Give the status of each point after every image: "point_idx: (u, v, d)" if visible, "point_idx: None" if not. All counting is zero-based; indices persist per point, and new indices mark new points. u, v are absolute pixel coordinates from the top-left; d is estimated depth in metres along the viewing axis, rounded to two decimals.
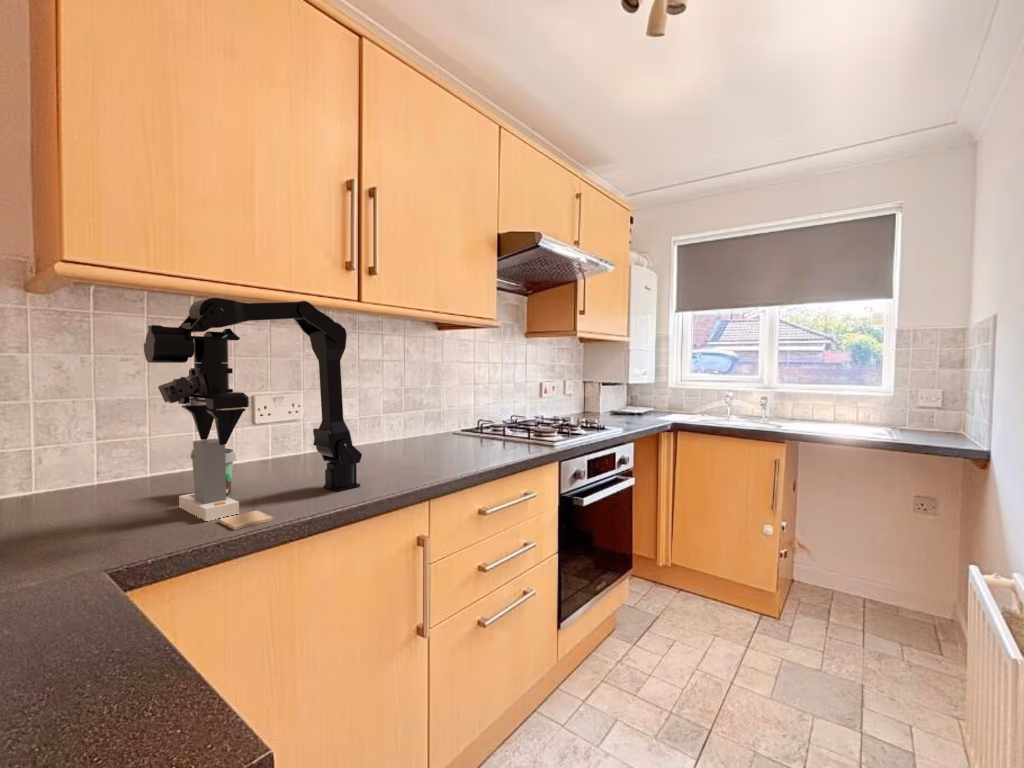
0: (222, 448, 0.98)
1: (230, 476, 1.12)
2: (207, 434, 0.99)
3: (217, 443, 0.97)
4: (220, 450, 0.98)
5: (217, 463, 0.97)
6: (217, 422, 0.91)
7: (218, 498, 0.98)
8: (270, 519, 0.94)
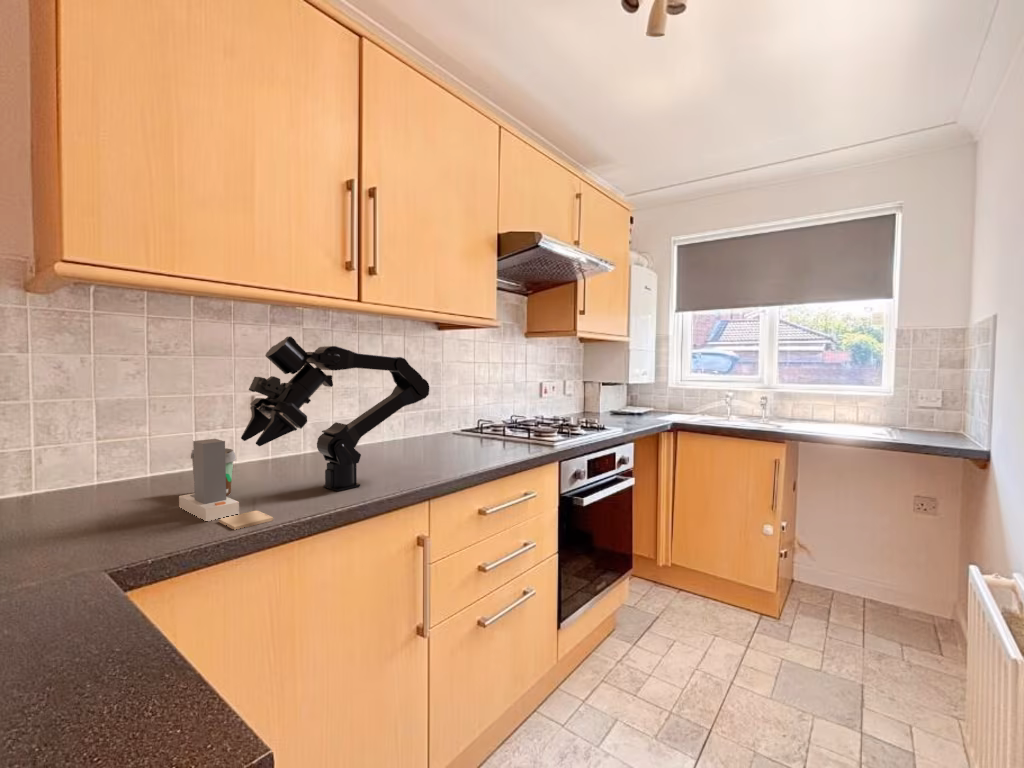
0: (222, 448, 0.98)
1: (230, 476, 1.12)
2: (248, 437, 1.08)
3: (217, 443, 0.97)
4: (220, 450, 0.98)
5: (217, 463, 0.97)
6: (270, 424, 1.01)
7: (218, 498, 0.98)
8: (270, 519, 0.94)
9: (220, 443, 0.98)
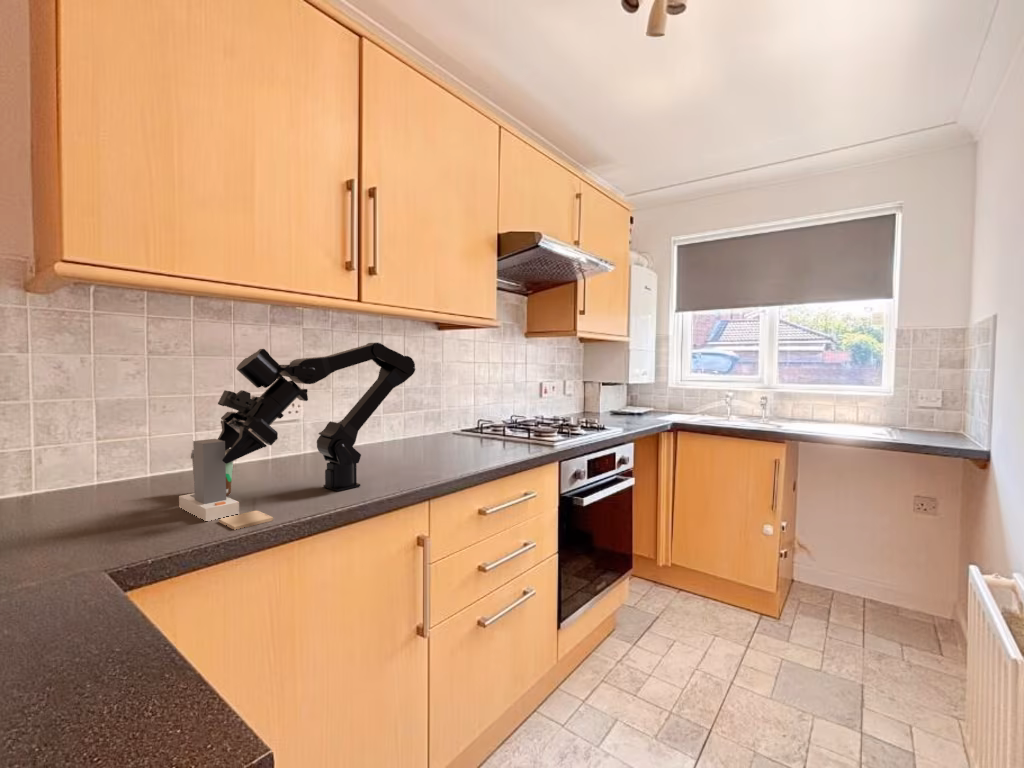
0: (222, 448, 0.98)
1: (230, 476, 1.12)
2: None
3: (217, 443, 0.97)
4: (220, 450, 0.98)
5: (217, 463, 0.97)
6: (238, 441, 0.97)
7: (218, 498, 0.98)
8: (270, 519, 0.94)
9: (220, 443, 0.98)
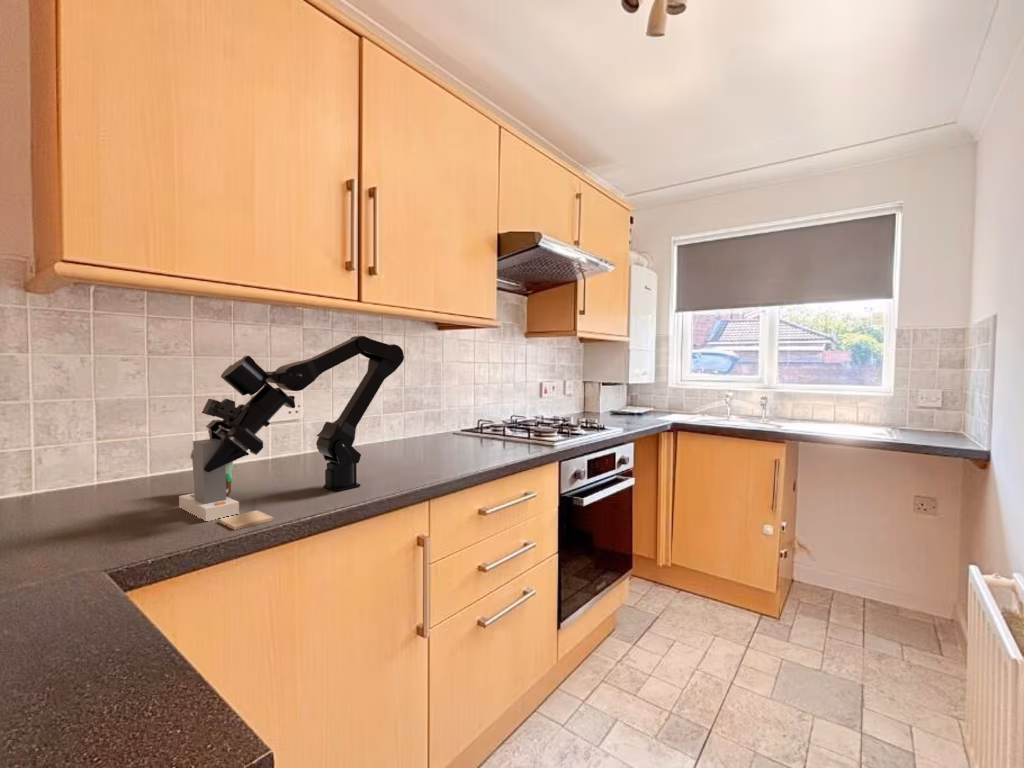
0: None
1: (230, 476, 1.12)
2: None
3: (217, 443, 0.97)
4: None
5: None
6: (219, 449, 0.96)
7: (218, 498, 0.98)
8: (270, 519, 0.94)
9: (220, 443, 0.98)
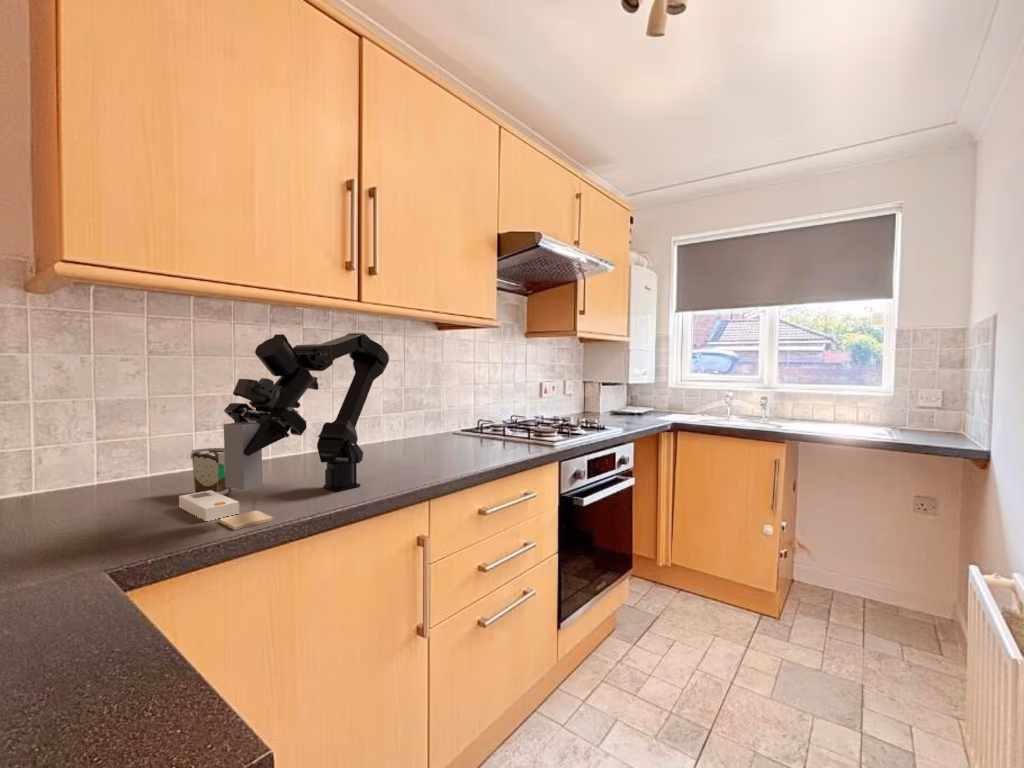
0: None
1: None
2: None
3: (254, 425, 0.92)
4: None
5: None
6: (260, 431, 0.92)
7: (256, 483, 0.93)
8: (270, 519, 0.94)
9: (257, 425, 0.93)
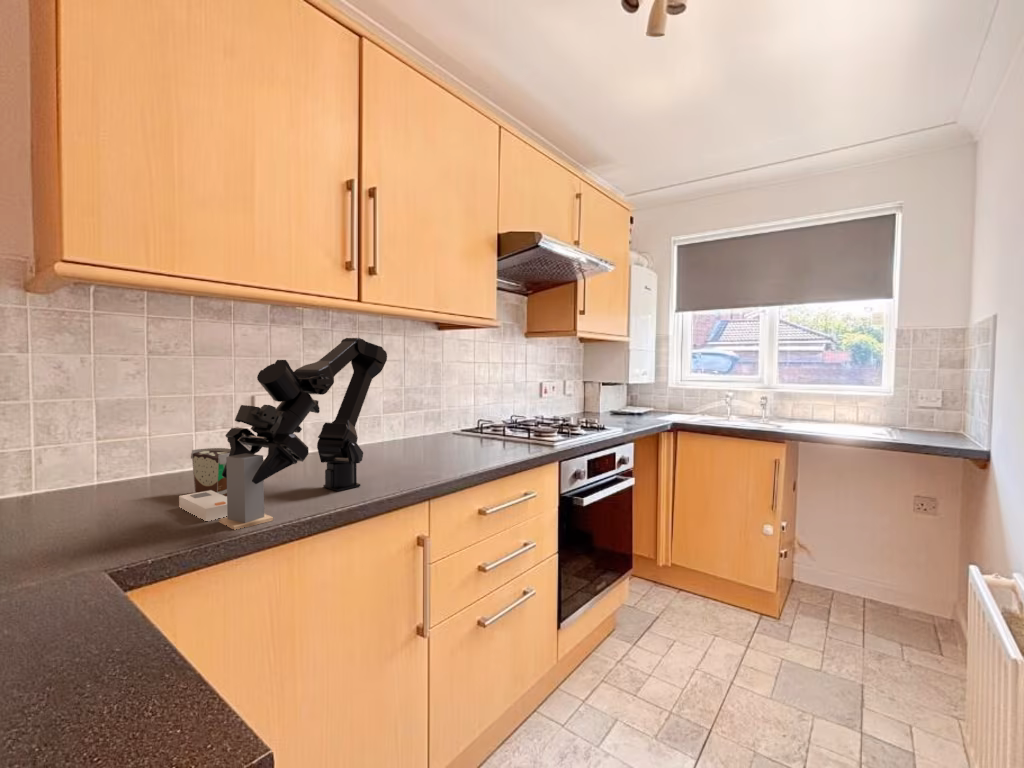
0: (261, 463, 0.93)
1: None
2: None
3: (256, 458, 0.92)
4: (259, 465, 0.93)
5: None
6: (268, 459, 0.91)
7: (257, 516, 0.93)
8: (270, 519, 0.94)
9: (259, 458, 0.93)
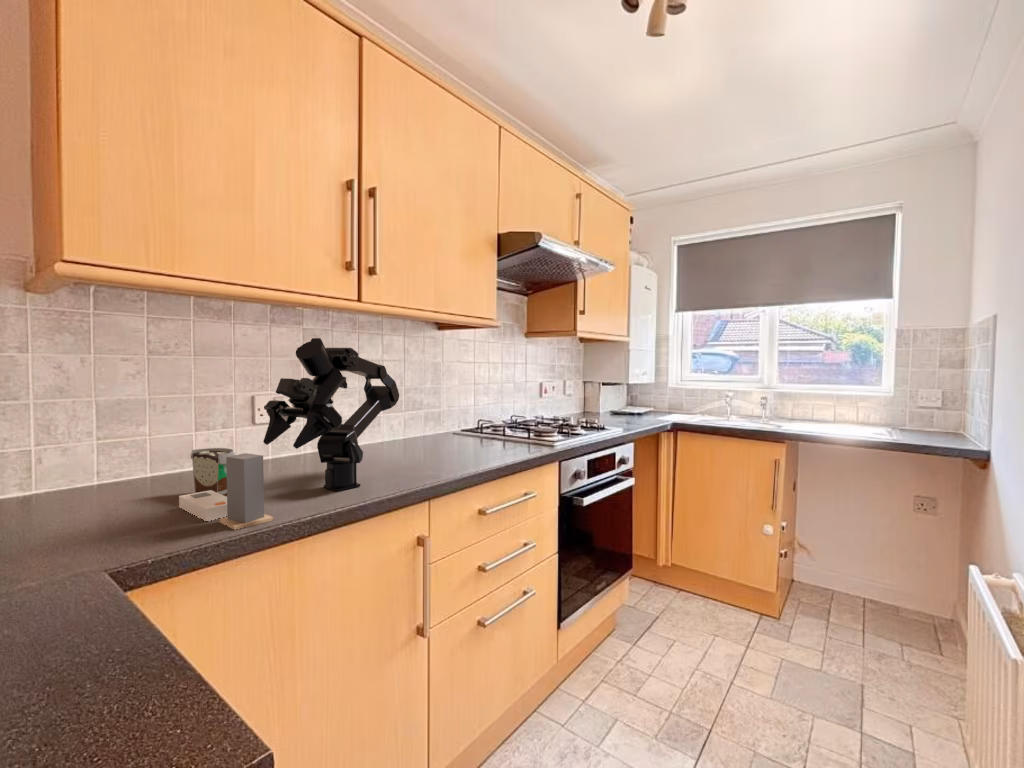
0: (261, 463, 0.93)
1: None
2: (270, 441, 1.05)
3: (256, 458, 0.92)
4: (259, 465, 0.93)
5: (256, 479, 0.93)
6: (307, 426, 1.01)
7: (257, 516, 0.93)
8: (270, 519, 0.94)
9: (259, 458, 0.93)
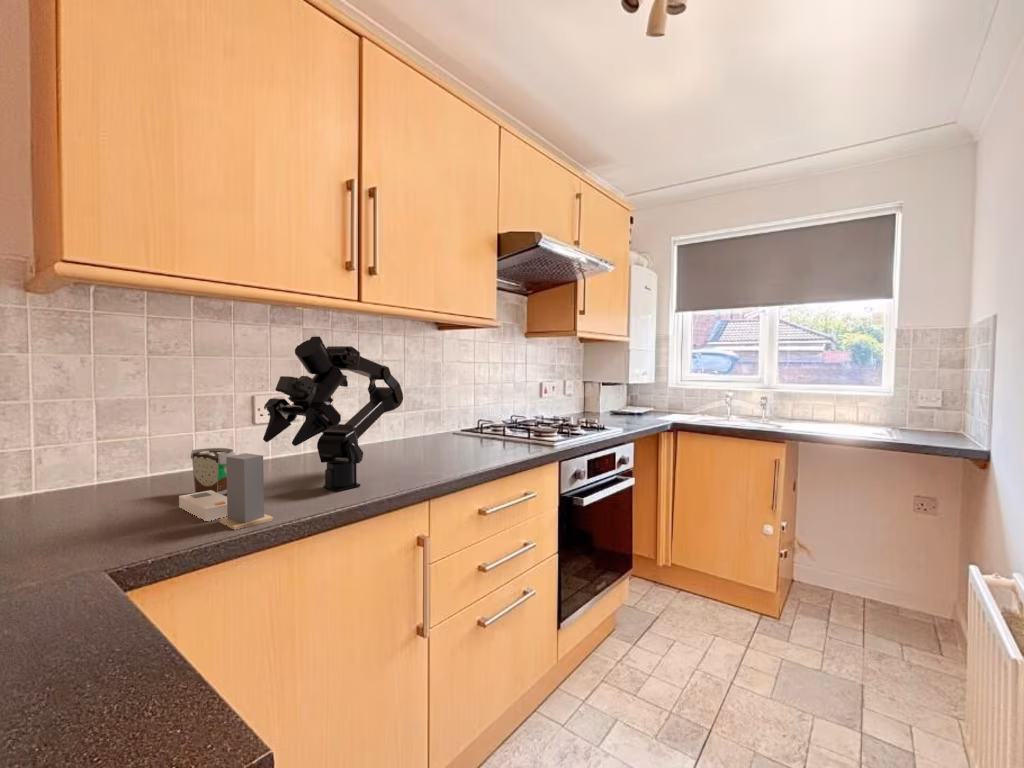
0: (261, 463, 0.93)
1: None
2: (270, 438, 1.05)
3: (256, 458, 0.92)
4: (259, 465, 0.93)
5: (256, 479, 0.93)
6: (306, 423, 1.01)
7: (257, 516, 0.93)
8: (270, 519, 0.94)
9: (259, 458, 0.93)
